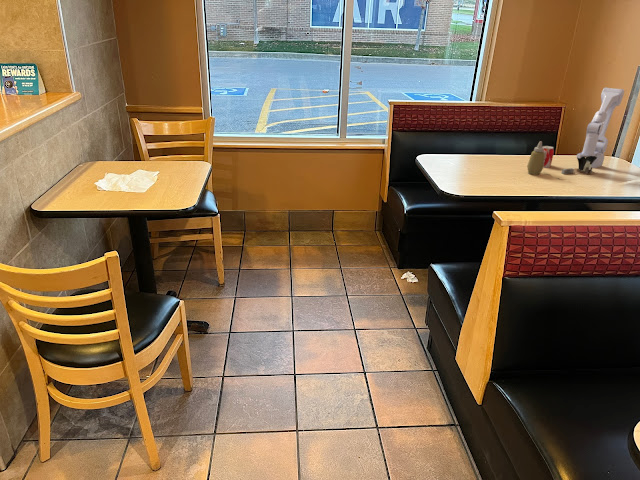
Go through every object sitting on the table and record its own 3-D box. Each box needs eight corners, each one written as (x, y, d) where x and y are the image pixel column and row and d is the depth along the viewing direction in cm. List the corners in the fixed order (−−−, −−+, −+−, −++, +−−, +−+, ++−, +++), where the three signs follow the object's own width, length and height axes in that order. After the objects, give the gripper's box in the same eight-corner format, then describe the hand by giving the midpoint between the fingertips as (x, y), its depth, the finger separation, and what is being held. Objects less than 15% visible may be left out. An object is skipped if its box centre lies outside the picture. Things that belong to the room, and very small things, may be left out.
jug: (576, 170, 261) (579, 160, 258) (583, 170, 262) (586, 159, 259) (585, 174, 255) (588, 163, 253) (591, 173, 257) (594, 162, 254)
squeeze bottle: (541, 172, 261) (549, 140, 253) (541, 176, 255) (548, 144, 247) (526, 170, 264) (533, 138, 256) (525, 174, 258) (532, 142, 250)
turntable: (582, 169, 266) (584, 161, 265) (599, 175, 256) (602, 168, 254) (554, 172, 261) (555, 164, 259) (570, 179, 251) (572, 171, 249)
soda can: (551, 169, 266) (556, 149, 261) (538, 169, 267) (542, 148, 262) (548, 166, 272) (553, 145, 267) (535, 165, 273) (540, 145, 268)
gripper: (587, 148, 247) (580, 172, 253) (606, 145, 252) (599, 169, 258) (575, 145, 252) (569, 169, 258) (594, 142, 258) (587, 166, 264)
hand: (583, 169), depth 259 cm, fingers closed on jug, 4 cm apart
